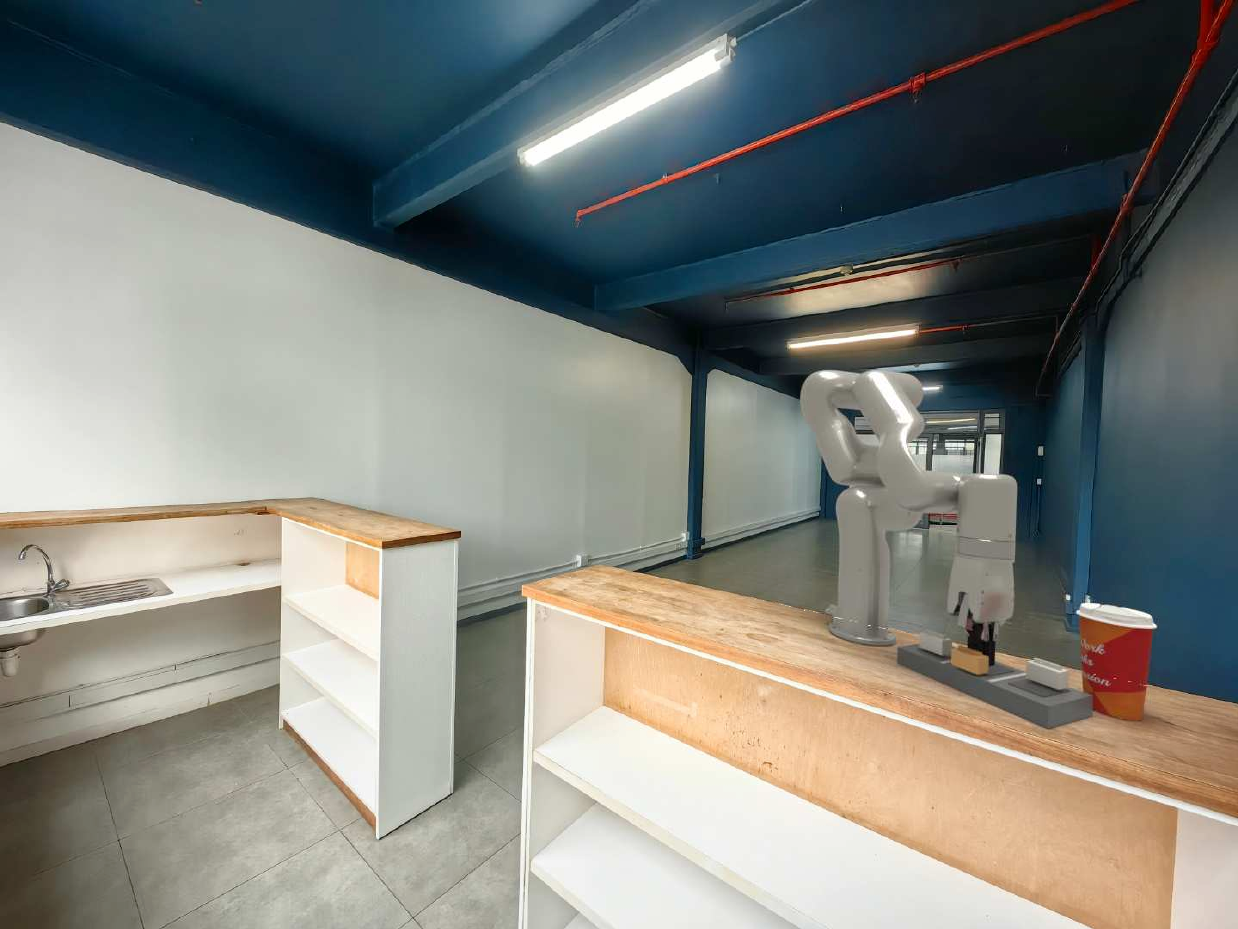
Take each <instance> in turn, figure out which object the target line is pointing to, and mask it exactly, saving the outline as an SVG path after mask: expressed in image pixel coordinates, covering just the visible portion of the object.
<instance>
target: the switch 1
mask: <svg viewBox="0 0 1238 929" xmlns="http://www.w3.org/2000/svg"><path fill="white" fill-rule="evenodd" d="M918 635H919V636H918V637H919V639H918V644H919V647H921V648H923V649H926V650H929V651H931V652H934V653H936V654H939V655H942V656H943V655H949V654H951V649H952V646H953V639H952V638H948V637H947V635H945V634H943V633H939V632H936V631H934V630H931V629H925V631H923V632H919V634H918Z"/></svg>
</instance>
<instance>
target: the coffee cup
mask: <svg viewBox="0 0 1238 929" xmlns="http://www.w3.org/2000/svg"><path fill="white" fill-rule="evenodd" d="M1075 613H1076V614H1077V615H1078V617H1079V618H1078V620H1079V622H1078V623H1079V639H1080V640H1079V643H1080V644H1079V645H1080V661H1081V662H1080V663H1081V680H1082V692H1085V693H1087V694H1090V695H1093V708H1092V711H1094V712H1097V711H1098V712H1097V713H1099V712H1100V713H1099V714H1102V715H1105V716H1108V717H1111V718H1115V719H1118V718H1122V719H1121V720H1123V719H1125V720H1124V721H1128V720H1129V721H1130V722H1131V721H1132V722H1140V721H1142V720H1143V717H1144V716H1143V715H1144V712H1145V711H1144V710H1145V705H1146V704H1145V703H1146V696H1147V695H1146V694H1147V687H1148V686H1143V685H1148V678H1149V668H1150V662H1151V653H1152V652H1151V650H1152V642H1153V633H1154V629H1157V627H1158V626H1157V624H1155V623H1154V619H1153V616H1152V615H1151V614H1149V613H1146V612H1144V611H1140V610H1138V609H1137V610H1136V609H1131V608H1127V607H1123V606H1122V607H1120V606H1119V607H1118V606H1116V605H1111V604H1110V605H1109V604H1101V603H1093V602H1083V603H1080V605H1079V609H1077V610H1076V611H1075ZM1094 674H1096V675H1094ZM1114 678H1116V679H1114ZM1128 681H1131V682H1128ZM1140 684H1141V685H1140ZM1129 721H1128V722H1129Z"/></svg>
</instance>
